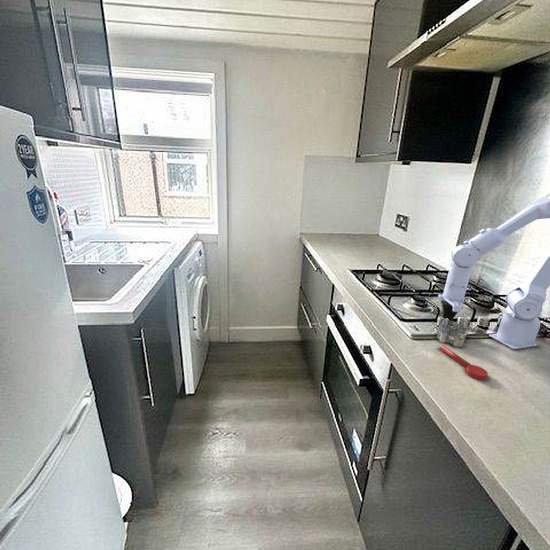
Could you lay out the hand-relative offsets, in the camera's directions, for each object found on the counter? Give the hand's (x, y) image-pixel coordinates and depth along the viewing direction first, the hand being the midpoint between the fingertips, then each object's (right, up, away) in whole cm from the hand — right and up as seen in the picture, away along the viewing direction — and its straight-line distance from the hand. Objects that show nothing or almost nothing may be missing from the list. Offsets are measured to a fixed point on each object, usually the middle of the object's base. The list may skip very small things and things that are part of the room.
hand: (446, 323), depth 97 cm
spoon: (-7, -8, -18) cm, 21 cm away
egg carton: (-2, -4, -6) cm, 7 cm away
